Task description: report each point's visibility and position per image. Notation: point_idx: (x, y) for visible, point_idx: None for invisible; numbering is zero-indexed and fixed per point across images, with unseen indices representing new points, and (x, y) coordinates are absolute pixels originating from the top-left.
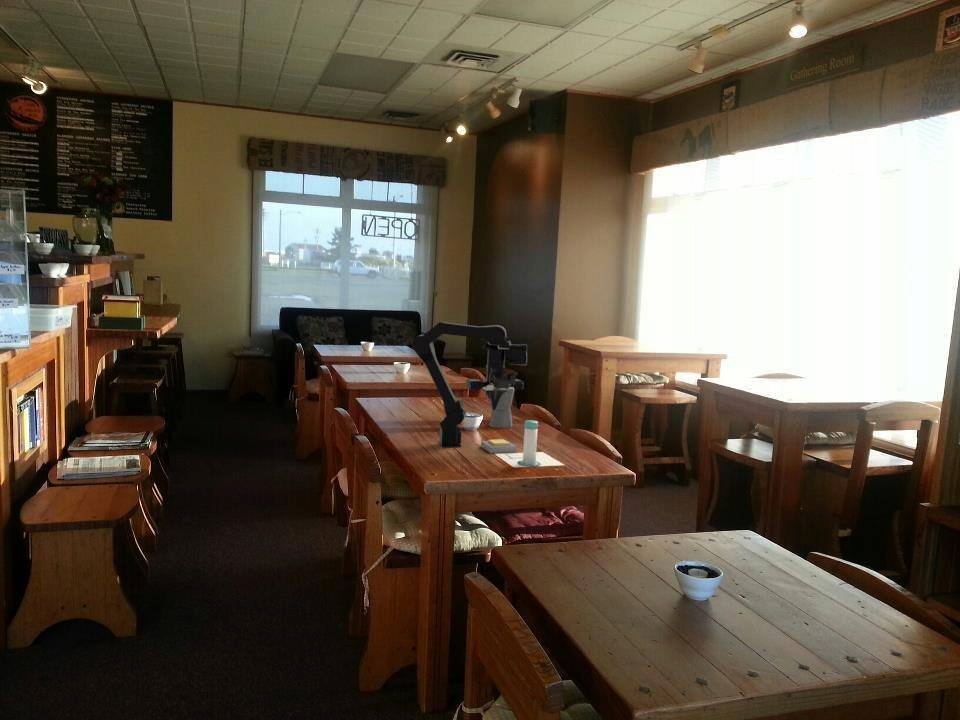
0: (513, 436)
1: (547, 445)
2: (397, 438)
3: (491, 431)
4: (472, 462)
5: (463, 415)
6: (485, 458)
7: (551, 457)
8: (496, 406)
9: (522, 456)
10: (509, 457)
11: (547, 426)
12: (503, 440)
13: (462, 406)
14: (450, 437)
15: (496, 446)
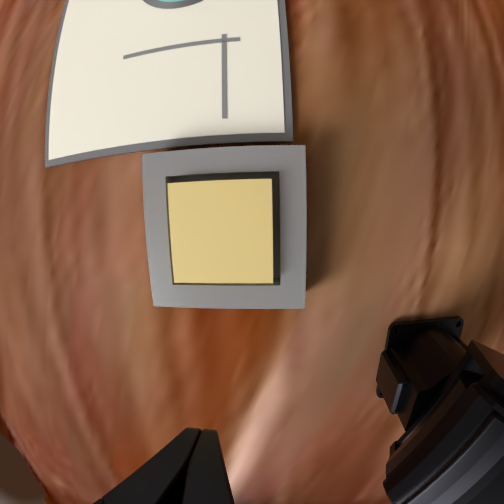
0: (110, 434)
1: (17, 292)
2: None
3: None
4: (419, 42)
5: (481, 393)
6: (348, 84)
7: (56, 70)
8: (161, 451)
9: (157, 72)
10: (229, 53)
11: (35, 465)
12: (184, 253)
13: (473, 480)
14: (452, 343)
15: (261, 160)
